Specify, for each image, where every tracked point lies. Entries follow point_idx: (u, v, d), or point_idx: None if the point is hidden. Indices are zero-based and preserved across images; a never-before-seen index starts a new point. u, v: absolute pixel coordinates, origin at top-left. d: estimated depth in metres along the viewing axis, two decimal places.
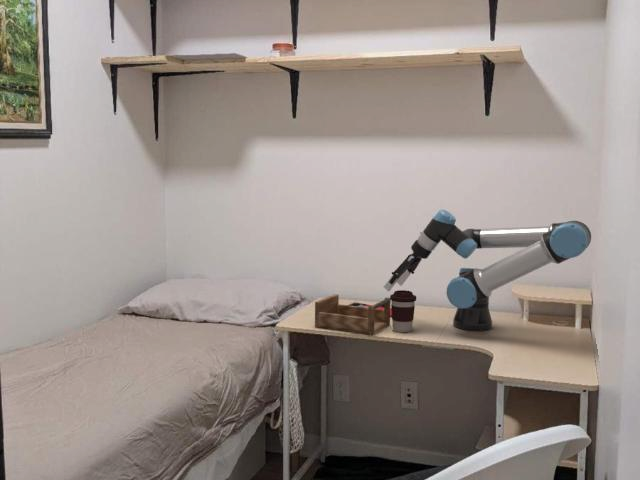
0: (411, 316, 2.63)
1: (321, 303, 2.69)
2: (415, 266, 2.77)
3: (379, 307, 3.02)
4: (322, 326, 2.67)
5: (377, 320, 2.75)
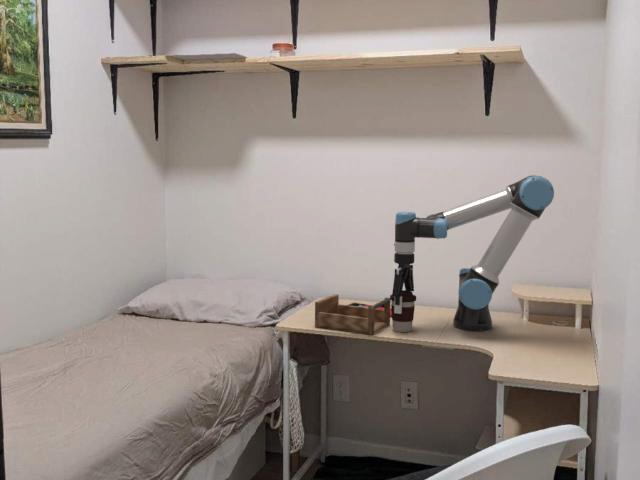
0: (411, 316, 2.63)
1: (321, 303, 2.69)
2: (411, 282, 2.70)
3: (379, 307, 3.02)
4: (322, 326, 2.67)
5: (377, 320, 2.75)
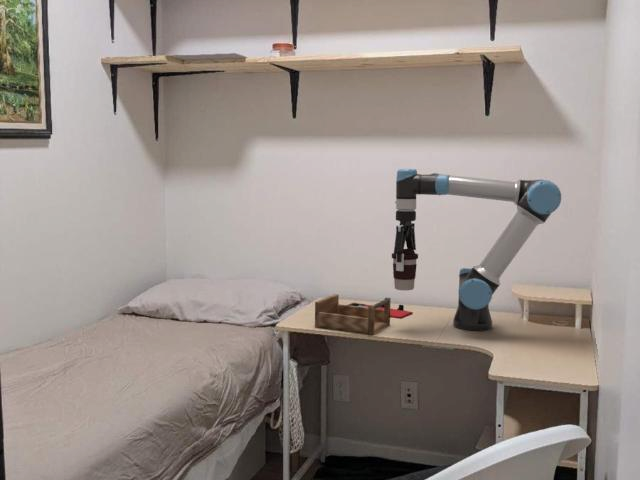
0: (413, 274, 2.61)
1: (321, 303, 2.69)
2: (413, 240, 2.68)
3: (378, 307, 3.02)
4: (322, 326, 2.67)
5: (377, 320, 2.75)
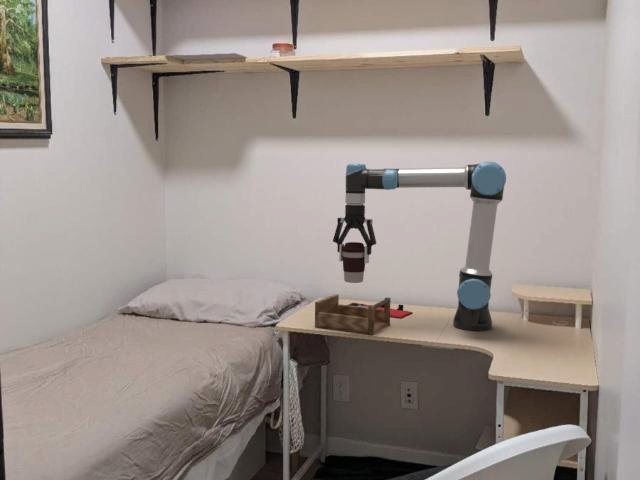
0: (346, 267, 2.66)
1: (321, 303, 2.69)
2: None
3: (378, 307, 3.02)
4: (322, 326, 2.67)
5: (377, 320, 2.75)
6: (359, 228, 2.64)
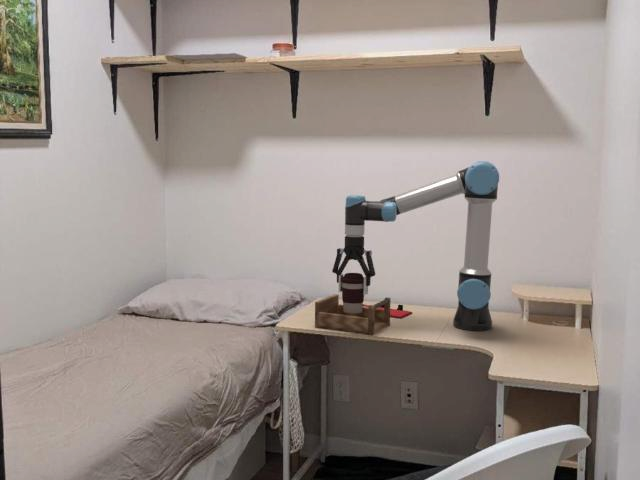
0: (345, 297, 2.67)
1: (321, 303, 2.69)
2: None
3: (378, 307, 3.02)
4: (322, 326, 2.67)
5: (377, 320, 2.75)
6: (358, 259, 2.66)
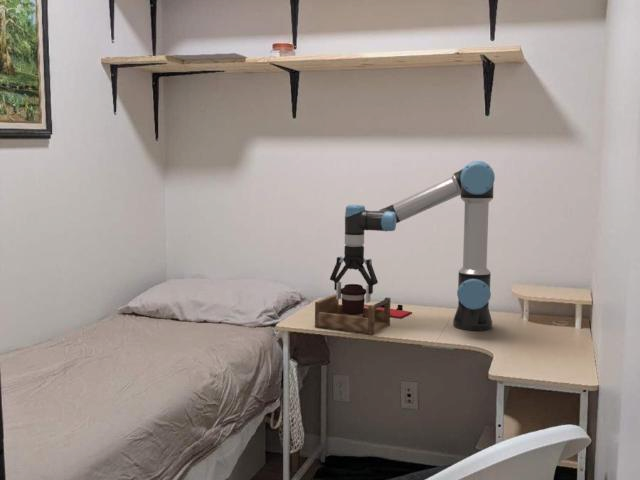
0: (345, 309, 2.68)
1: (321, 303, 2.69)
2: None
3: None
4: (322, 326, 2.67)
5: (377, 320, 2.75)
6: (359, 269, 2.66)
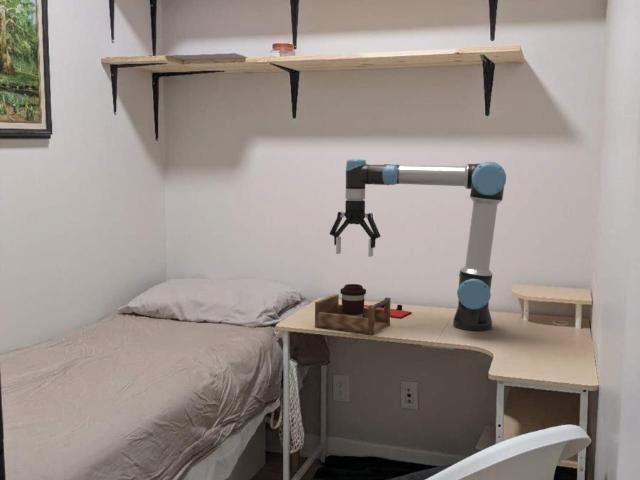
0: (345, 309, 2.68)
1: (321, 303, 2.69)
2: None
3: None
4: (322, 326, 2.67)
5: (377, 320, 2.75)
6: (360, 223, 2.64)
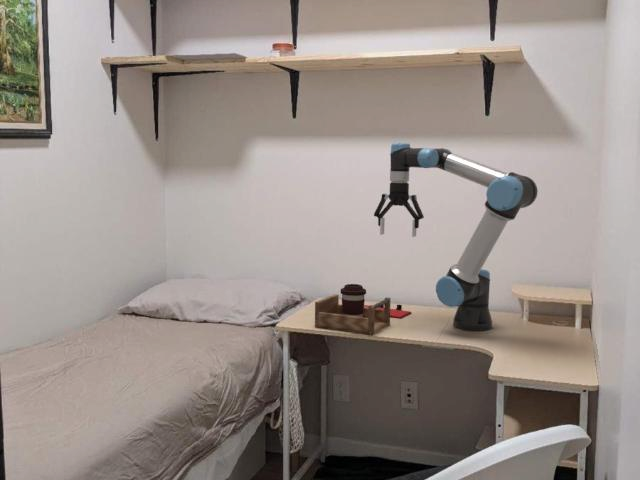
0: (345, 309, 2.68)
1: (321, 303, 2.69)
2: None
3: None
4: (322, 326, 2.67)
5: (377, 320, 2.75)
6: (404, 204, 2.74)
